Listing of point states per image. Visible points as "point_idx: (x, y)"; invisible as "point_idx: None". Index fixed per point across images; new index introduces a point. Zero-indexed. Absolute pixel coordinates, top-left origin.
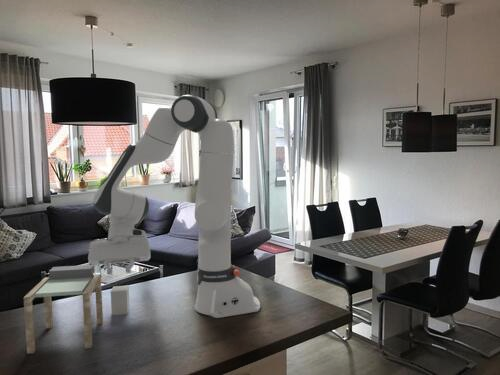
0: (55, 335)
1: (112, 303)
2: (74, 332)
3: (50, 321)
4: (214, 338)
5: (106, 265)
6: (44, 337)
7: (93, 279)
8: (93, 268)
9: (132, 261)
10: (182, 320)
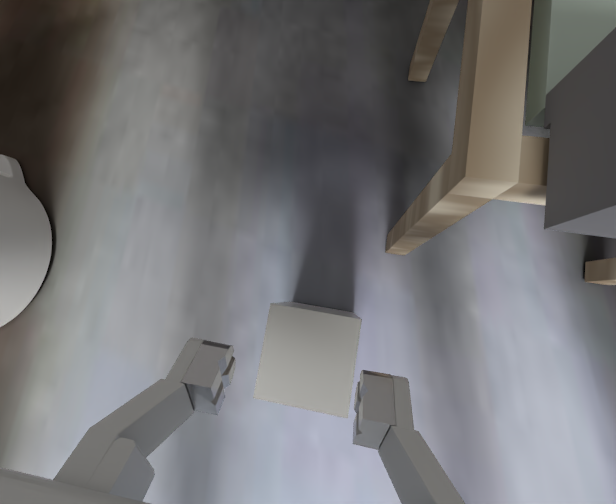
0: None
1: (350, 314)
2: None
3: (613, 259)
4: (70, 38)
5: (429, 464)
6: None
7: (516, 29)
8: (592, 161)
9: (108, 426)
10: (117, 180)
